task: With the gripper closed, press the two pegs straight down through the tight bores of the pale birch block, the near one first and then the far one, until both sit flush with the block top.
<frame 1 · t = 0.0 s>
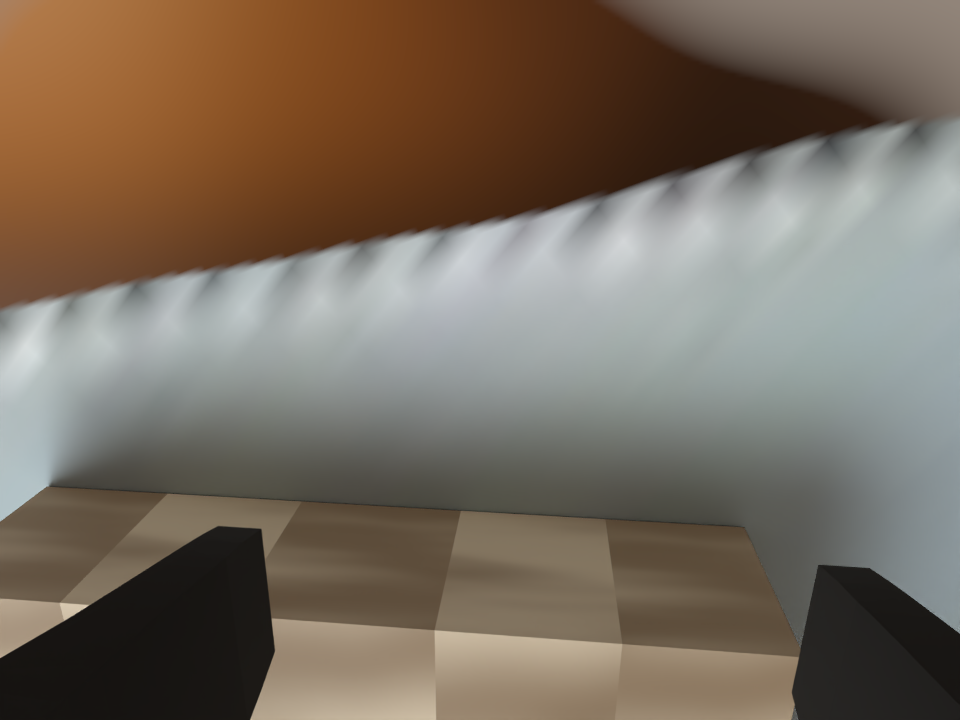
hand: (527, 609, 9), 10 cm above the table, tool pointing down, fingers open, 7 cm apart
twin-bore block: (389, 689, 23), on the table
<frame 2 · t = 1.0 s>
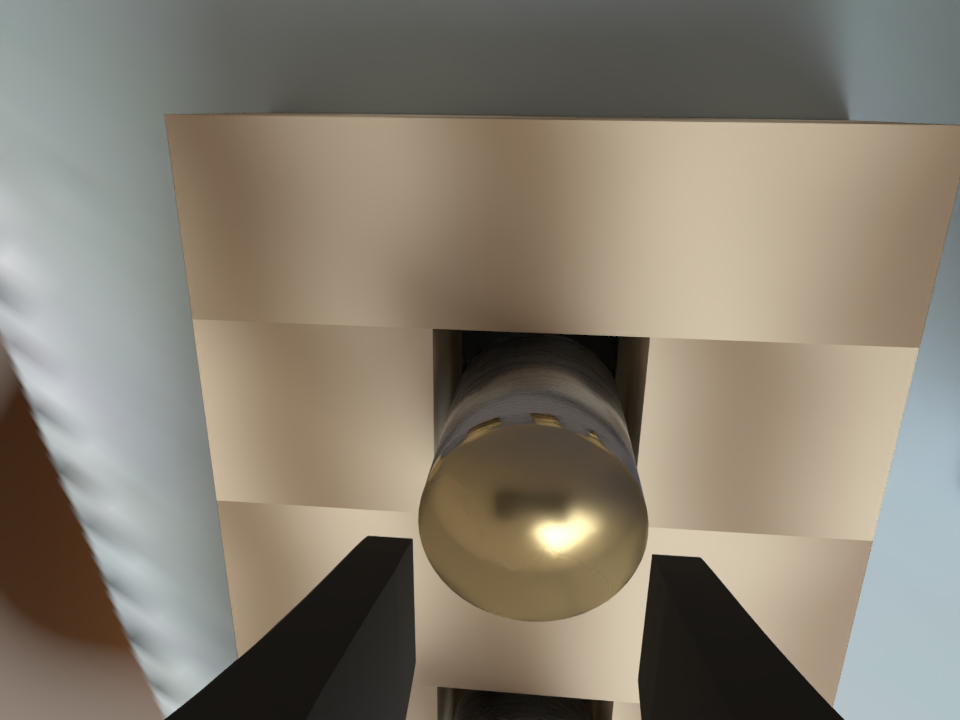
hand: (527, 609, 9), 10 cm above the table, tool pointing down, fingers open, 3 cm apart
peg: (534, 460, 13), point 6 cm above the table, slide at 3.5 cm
twin-bore block: (532, 495, 20), on the table
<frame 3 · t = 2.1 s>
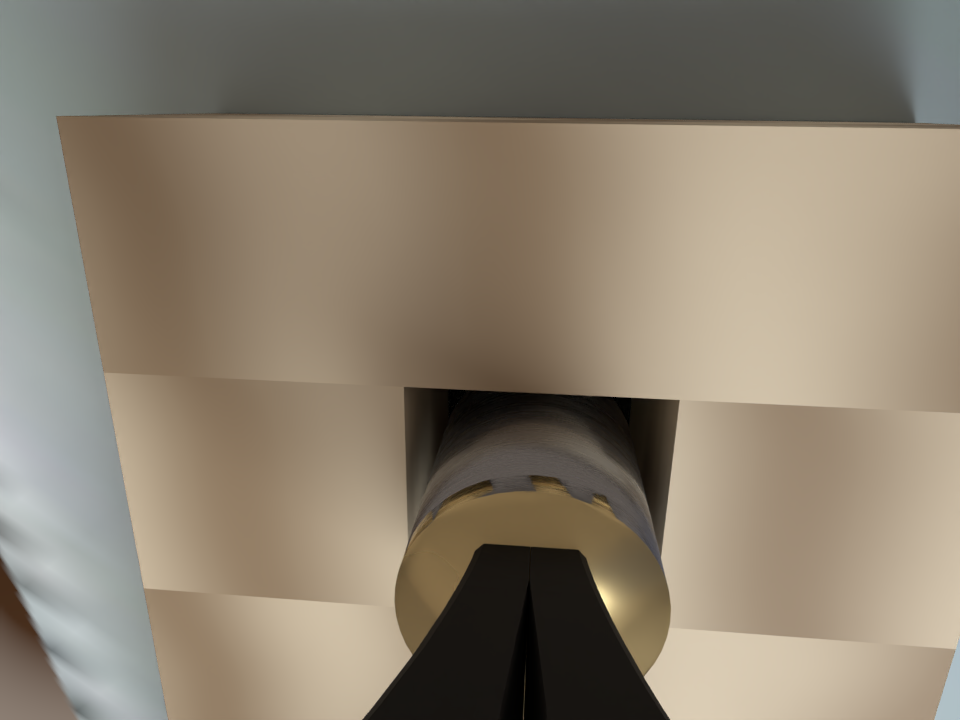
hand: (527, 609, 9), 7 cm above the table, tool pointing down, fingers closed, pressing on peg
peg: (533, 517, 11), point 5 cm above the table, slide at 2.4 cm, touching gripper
twin-bore block: (531, 558, 18), on the table
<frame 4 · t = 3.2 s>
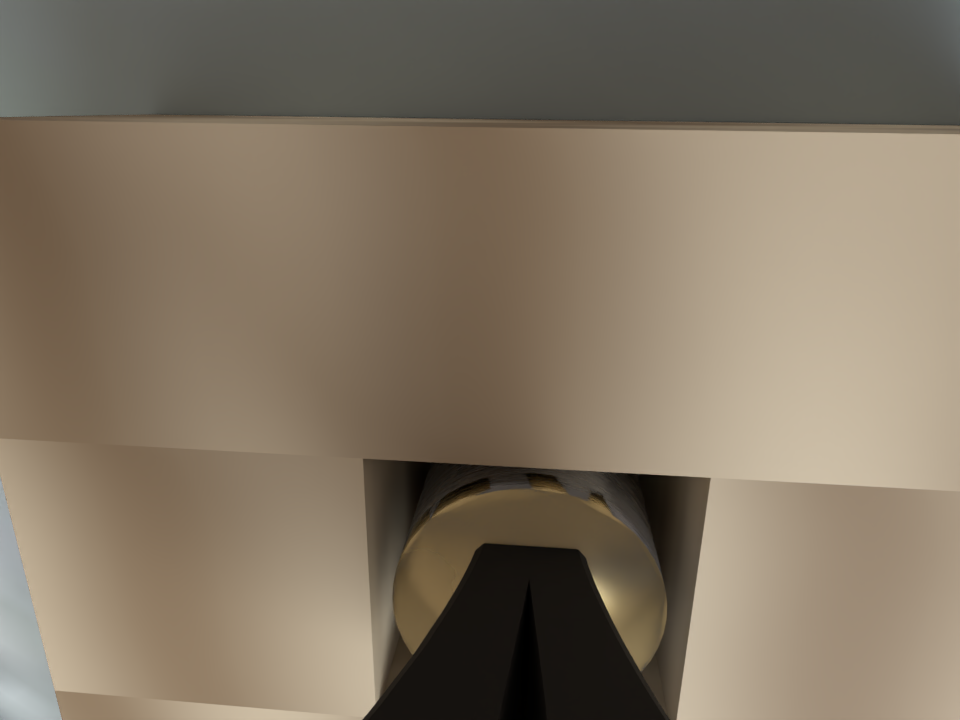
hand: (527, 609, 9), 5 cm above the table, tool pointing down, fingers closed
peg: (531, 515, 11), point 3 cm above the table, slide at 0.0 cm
twin-bore block: (526, 623, 15), on the table
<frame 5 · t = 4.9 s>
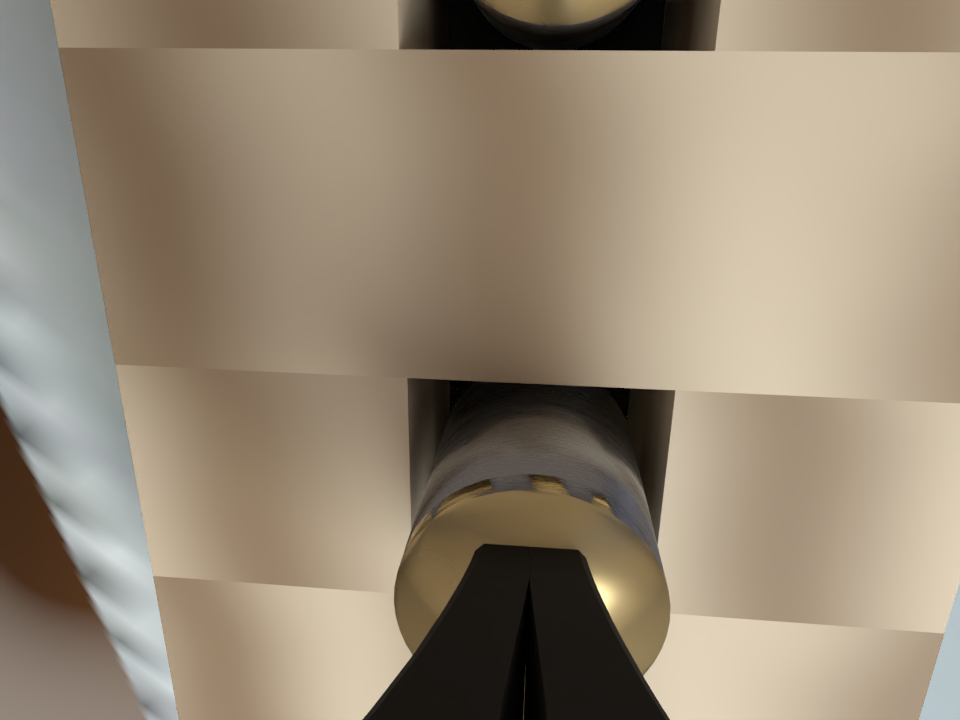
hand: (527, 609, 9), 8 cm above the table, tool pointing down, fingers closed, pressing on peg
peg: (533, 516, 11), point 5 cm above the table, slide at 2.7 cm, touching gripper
twin-bore block: (547, 191, 15), on the table
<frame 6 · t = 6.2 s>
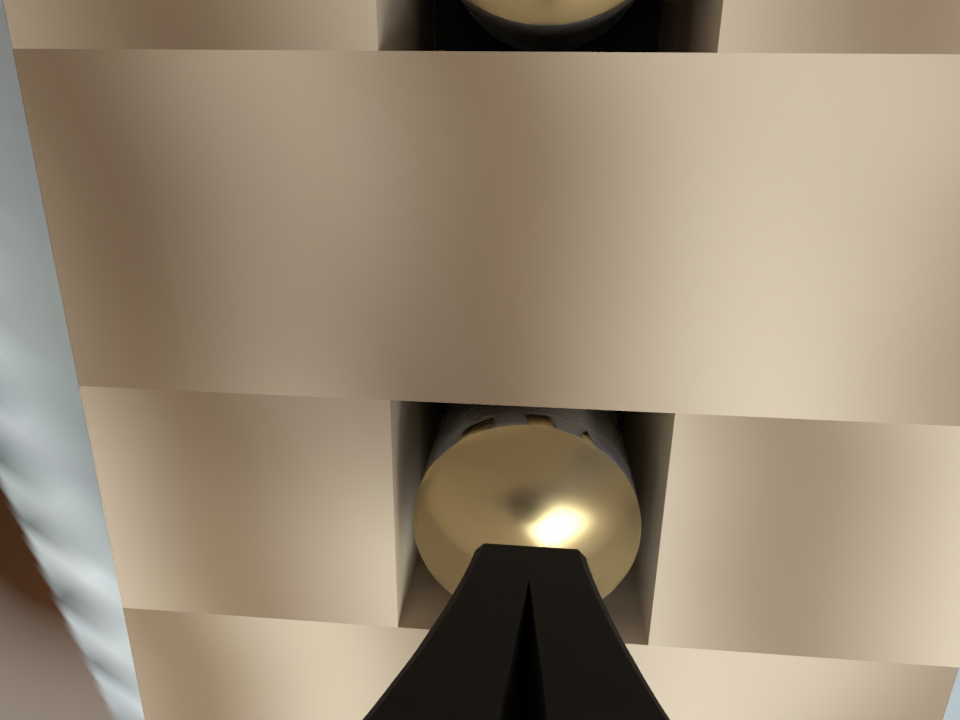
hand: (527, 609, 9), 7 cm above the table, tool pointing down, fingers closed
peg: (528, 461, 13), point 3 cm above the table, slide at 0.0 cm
twin-bore block: (539, 199, 14), on the table
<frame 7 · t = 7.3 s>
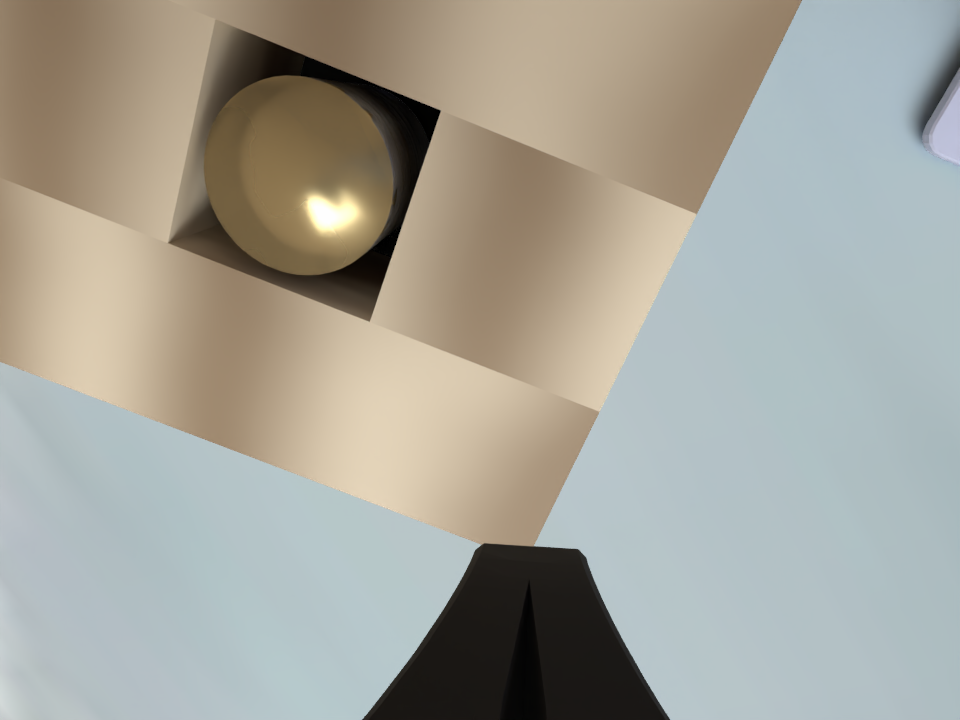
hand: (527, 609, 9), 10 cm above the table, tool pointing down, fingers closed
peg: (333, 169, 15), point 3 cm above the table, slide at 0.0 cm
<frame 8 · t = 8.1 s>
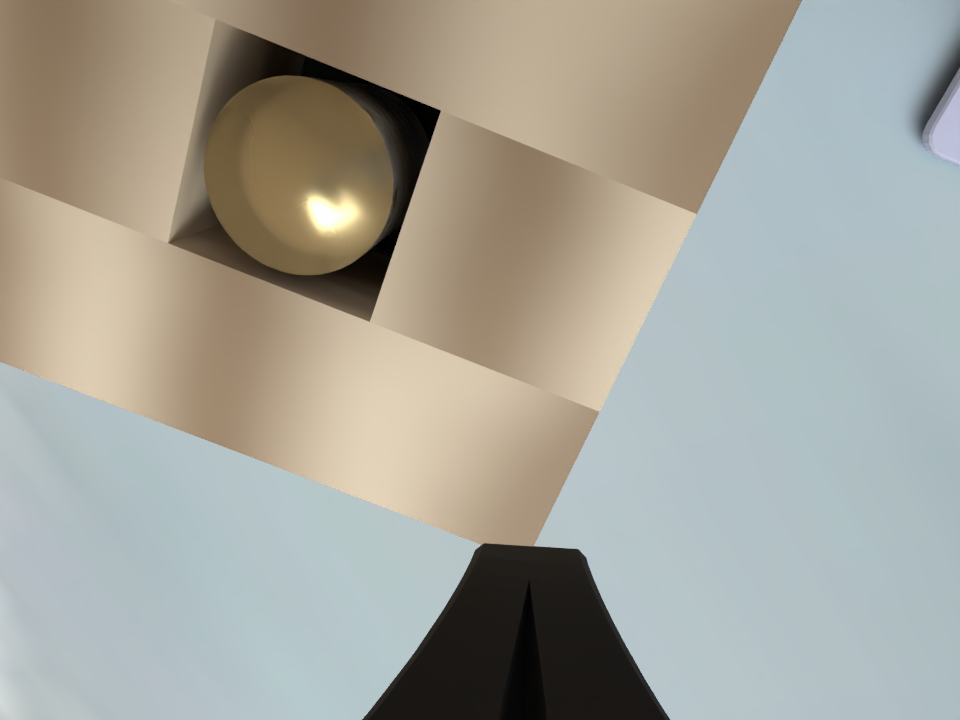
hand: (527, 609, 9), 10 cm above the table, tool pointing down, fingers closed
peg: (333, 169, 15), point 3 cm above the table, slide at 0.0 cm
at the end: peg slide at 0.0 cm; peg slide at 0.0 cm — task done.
